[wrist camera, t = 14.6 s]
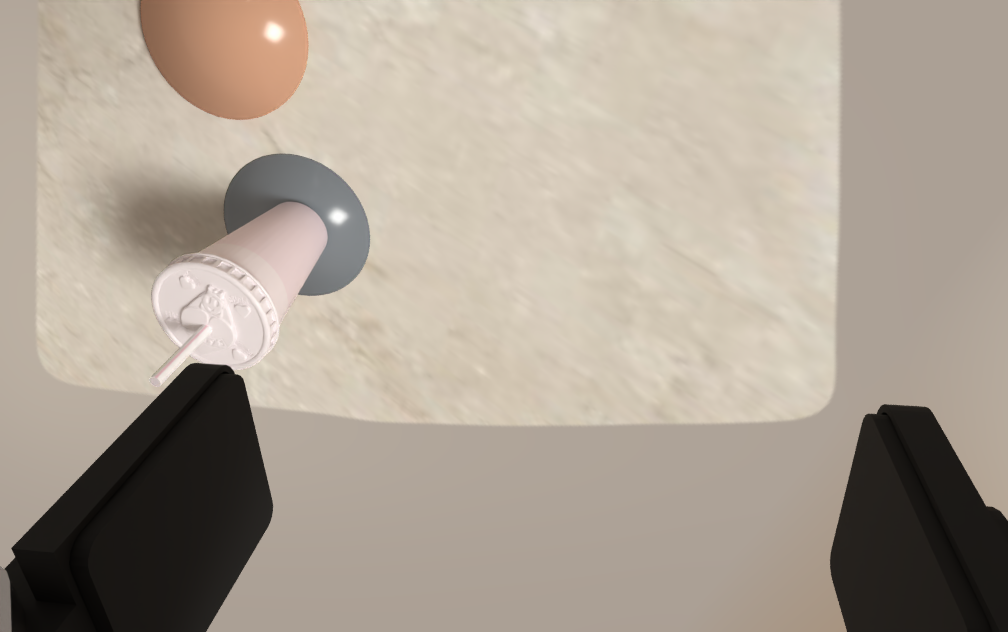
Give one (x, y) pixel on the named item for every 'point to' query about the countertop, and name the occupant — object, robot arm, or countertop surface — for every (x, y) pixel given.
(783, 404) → the countertop surface
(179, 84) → the orange brown disc
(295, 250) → the smoothie
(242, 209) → the grey pebble
